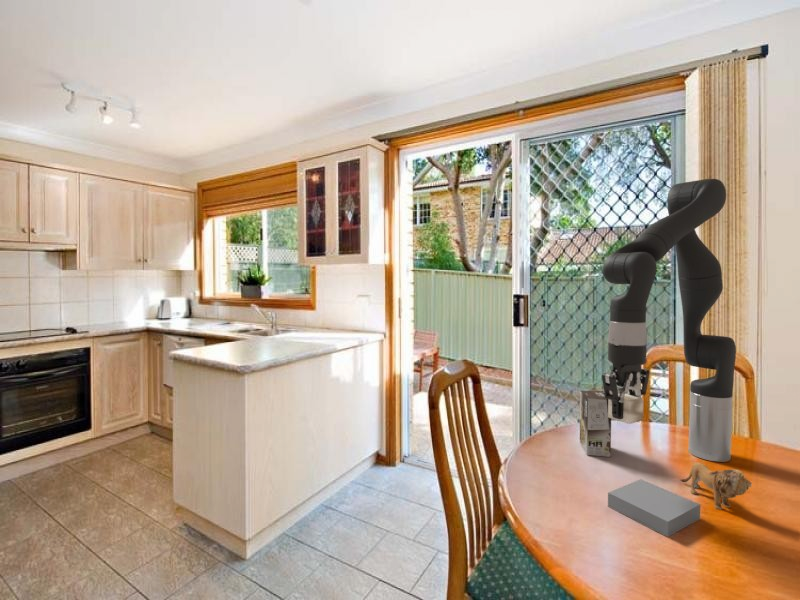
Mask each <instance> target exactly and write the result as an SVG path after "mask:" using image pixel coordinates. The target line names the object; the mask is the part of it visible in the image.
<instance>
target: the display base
mask: <svg viewBox="0 0 800 600" xmlns="http://www.w3.org/2000/svg"><path fill="white" fill-rule="evenodd" d="M607 507H608V508H610V509H612V510H614V511H615V512H618V513H620V514H622V515H623V516H626V517H628V518H630V519H632V520H633V521H635V522H637V523H639V524H641V525H643V526H645V527H647V528H649V529H651V530H653V531H655V532H657V533H659V534H660V535H663V537H666V538H669V537H671V536H672V535H674V534H676V533H677V532H679V531H681V530H683V529H684V528H686V527H688V526H690V525H691V524H693V523H696V522H697V521H699V520H701V507H702V505H701V504H700V503H699V502H696V501H693V500H691V499H689V498H687V497H684V496H682V495H679V494H677V493H674V492H672V491H670V490H668V489H665V488H663V487H660V486H658V485H656V484H653V483H651V482H648V481H646V480H644V479H641V478H640V479H637V480H636V481H635V480H634V481H633V482H631V483H628V484H625V485H623V486H620V487H619V488H616V489H614V490H611V491H609V492H608V493H607Z"/></svg>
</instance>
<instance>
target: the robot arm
mask: <svg viewBox="0 0 800 600" xmlns="http://www.w3.org/2000/svg"><path fill="white" fill-rule="evenodd" d="M666 200H667V201H666V202H667V203H666V207H667V212H668V215H666V216H665V217H663V218H660V219H658V220H657V221H655V222H653V223H651V224H650V225H649V226H648V227H646V228H645V230H643V231H642V232H641V233H640V234H639V235H638V236H637V237H636V238H635V239H634V240H632V241H631V242H630V241H629V243H627V244H625V245H623V246H622V247H619V248H618V249H616V250H615V251H613V252H612V253H611V254H610V255H608V257H607V258H606V259H605V260H604V263H603V265H602V275H603V278H604V279H605V280H606V281H607V282H608V283H610V284H613V285H629V286H628V288H627V291H626V292H625V293H624V294H619V295H615V296H613V297H611V300H610V311H609V316H610V317H609V326H608V336H607V337H608V342H607V349H608V350H607V360H608V361H609V362H610V363H611V364H612V365H611V366H612V367H611V370H610V372H608V373H606V372H603V373H602V375H601V377H602V378H601V379H602V386H603V392H604V394H605V398H606V399H610V400H611V401H612V416H613V417H614V418H617V419H623V406H624V403H623V401H624V397H625V394H628V395H632V396H636V397H640V398H642V396H646V394H647V390H648V385H649V377H650V369H647V368H642V367H641V366H643V365H645V364H647V347H648V346H647V342H648V337H647V336H648V332H647V331H648V330H647V303H648V300H649V297H650V294H651V289H652V288H653V285H654V281H655V279H656V276H657V271H658V270H657V269H658V267H657V263H658V262H660V260H661V259H663V258H664V257H665V256H666V255H667V254H668V253H669V252H670V251H671V249H673V247H675V252H676V253H675V254H676V263H677V275H678V277H677V279H678V286H679V294H680V300H681V307H682V317H683V319H682V320H683V321H682V323H683V328H682V329H683V353H684V355H683V356H684V360H685V361H686V363H687V364H688V365H689V366H691V367H694V368H699V369H700V368H701V369H709V370H714V371H715V374H714V375H713V376H711V377H707V378H699V379H698V378H697V379H695V380H691V382H690V385H689V386H690V387H689V416H688V417H689V420H688V421H689V423H688V452H689V453H690V454H691V455H693V456H694V457H697V458H700V459H703V460H706V461H711V462H717V463H721V462H722V463H726V462H729V461H731V455H732V450H731V449H732V430H733V429H732V425H733V424H732V423H733V421H732V420H733V392H734V389H733V388H734V380H735V379H734V377H735V369H736V368H735V367H736V366H735V365H736V357H737V356H736V355H737V346H736V345H737V344H736V343H735V341H734V339H733V338H732V337H729V336H723V335H712V334H703V333H702V331H701V330H702V323H703V320H704V319H705V317H706V316H707V313H708V312H709V311H710V310H711V309H712V308H713V306H714V304H716V302H717V301H718V299H719V298H720V297H721V294H722V293H723V289H724V288H723V287H724V286H723V275H722V274H723V273H722V266H721V263H720V261H719V260H718V258H717V257H716V256H715V255H714V254H713V252H712V251H711V250H710V249H709V248H708V246H707V245H705V244H704V242H703V240H701V239H700V237H699V235H698V233H697V232H696V229H697V228H698V227H700V226H701V225H703V224H704V223H705V222H707V221H709V220H710V219H712V218H713V217H715V216H716V215H717V214H718V213H720V211H722V210H723V208H724V206H725V203H726V200H727V189H726V187H725V184H724V183H723V182H722V180H720V179H717V178H705V179H698V180H693V181H692V180H691V181H686V182H680V183H676V184H674V185H672V186H671V187H670V188H669V190H668V192H667V198H666ZM618 394H619V396H618Z"/></svg>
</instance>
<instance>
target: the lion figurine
mask: <svg viewBox="0 0 800 600" xmlns="http://www.w3.org/2000/svg"><path fill="white" fill-rule="evenodd" d="M690 479H691V484H690V486H691V488H690V492H691V494H692V495H698V491H697V490H696V489H699V488H701V485H700V484H699V482H700V481H701V482H702V483H703V484H704V485H705V487H707V488H708V489H710V490H712V491H713V497H714V508H715V510H719V511H722V510H723V506H724V507H726V508H731V507H732V506H731V504H730V503H728V500H729V499H733V498H736V496H742V495H744V494H746V492H747V491H748V490H749V488H751V487H752V482H751V481H750V480H749V479H747V477H746V476H745V474H744V472H743V471H741V470H739V469H734V468H733V469H730V468H729V469H727V470H726V469H724V470H720V469H719V470H715V471H713V470H711V469H709V467H708V466H707V465H706V464H704V463H701V462H694V463H693V464H692V465H691V469H690V472H689V475H688V476H687V478H683V479H680V482H682V483H686V482H689V481H690ZM722 505H723V506H722Z"/></svg>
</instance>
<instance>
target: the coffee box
mask: <svg viewBox="0 0 800 600" xmlns="http://www.w3.org/2000/svg"><path fill="white" fill-rule="evenodd" d="M580 443H581V444H580ZM579 444H580V446H581V445H582V446H581V448H582V449H583V451H584V450H585V451H584V452H585V454H586V455H587V456H595V457H596V456H597V457H607V458H610V457H611V452H612V451H611V448H612V447H611V446H612V418H609V417H608V399H606V398H605V394H604V391H602V390H579Z"/></svg>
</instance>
